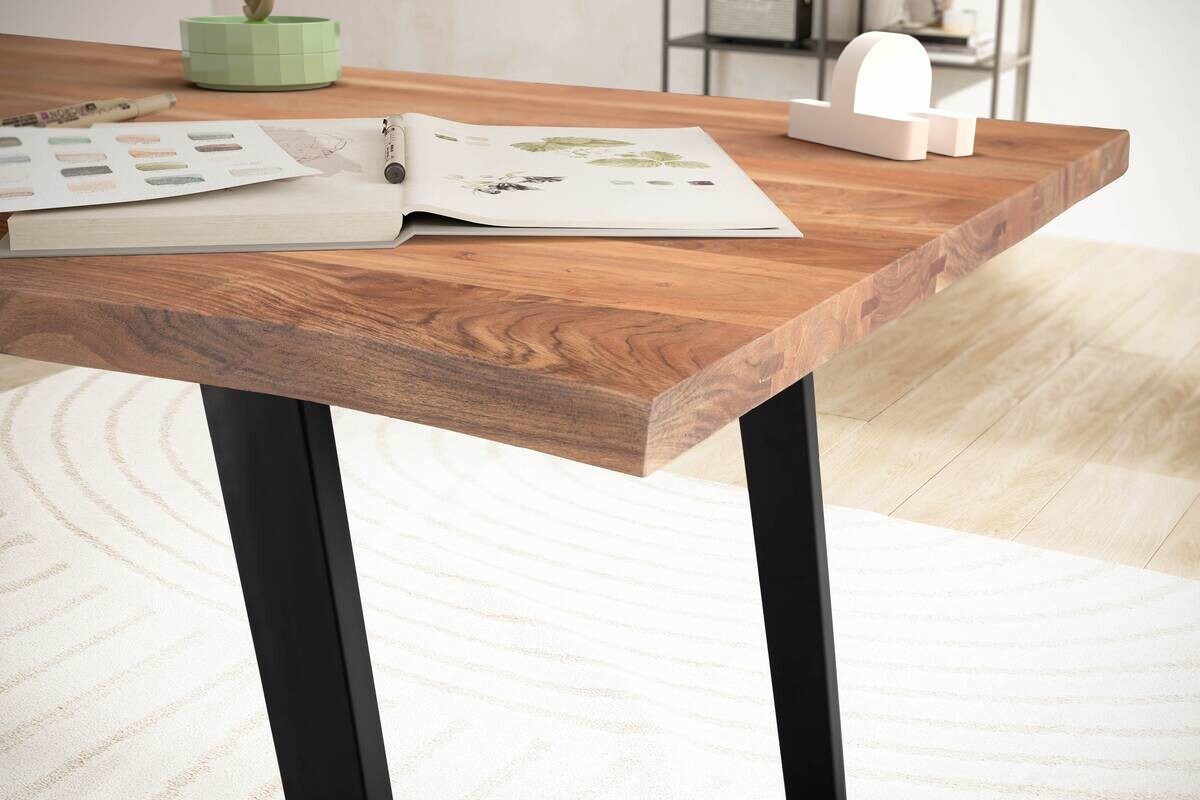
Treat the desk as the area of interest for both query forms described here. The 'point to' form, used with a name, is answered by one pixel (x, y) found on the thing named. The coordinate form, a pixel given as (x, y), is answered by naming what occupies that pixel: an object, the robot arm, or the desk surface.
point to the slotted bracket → (883, 104)
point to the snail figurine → (258, 10)
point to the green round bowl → (261, 52)
